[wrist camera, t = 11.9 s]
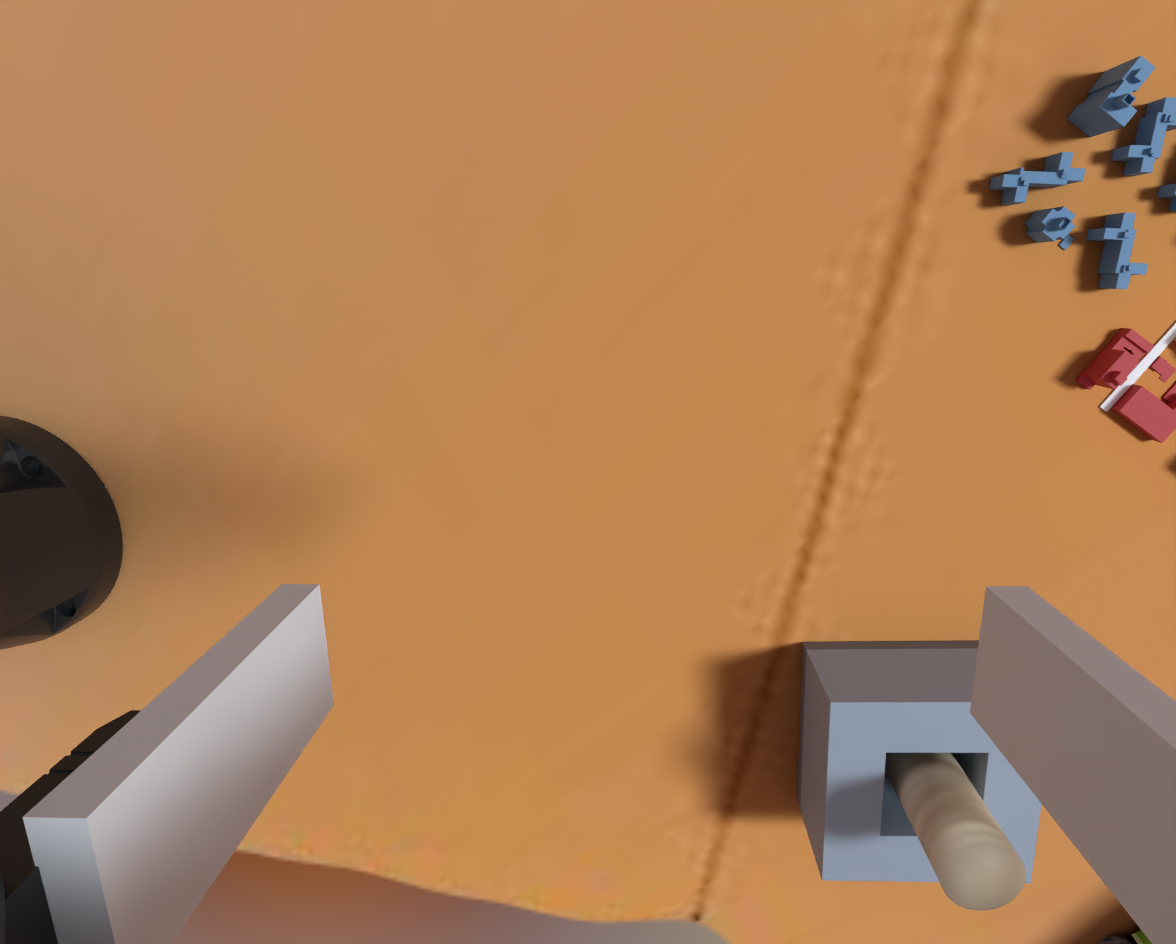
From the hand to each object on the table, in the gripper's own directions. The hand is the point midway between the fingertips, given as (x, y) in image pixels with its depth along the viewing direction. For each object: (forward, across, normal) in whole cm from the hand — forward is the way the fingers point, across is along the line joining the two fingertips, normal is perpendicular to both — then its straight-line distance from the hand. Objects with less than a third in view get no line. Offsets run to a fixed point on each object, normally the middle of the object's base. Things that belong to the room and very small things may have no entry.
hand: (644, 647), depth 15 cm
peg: (+29, +17, -22) cm, 41 cm away
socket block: (+30, +17, -22) cm, 41 cm away
